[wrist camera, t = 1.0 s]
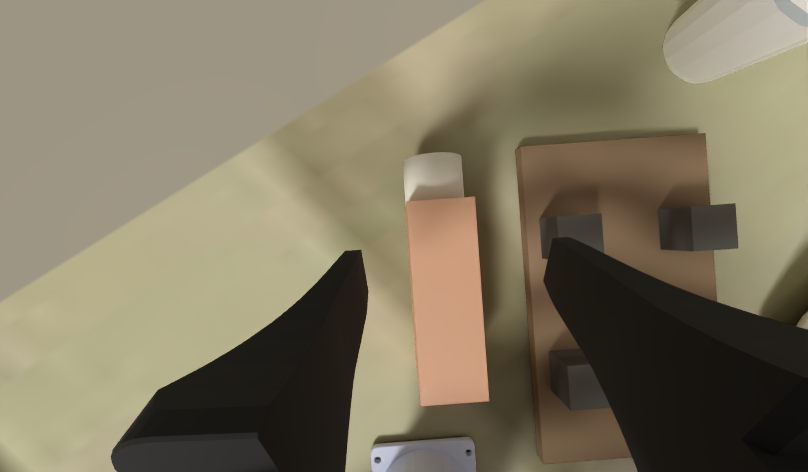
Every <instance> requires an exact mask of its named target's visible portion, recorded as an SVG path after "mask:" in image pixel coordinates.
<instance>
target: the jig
mask: <svg viewBox="0 0 808 472" xmlns="http://www.w3.org/2000/svg"><path fill="white" fill-rule="evenodd" d="M515 151H516V165H517V179H518V193H519V207H520V221H521V235H522V248H523V262H524V276H525V290H526V304H527V318H528V332H529V346H530V360H531V374H532V387H533V401H534V415H535V429H536V443H537V455H538V456H539V458H540V459H541V461H542V463H543V464H553V463H565V462H578V461H590V460H603V459H615V458H628V457H632V456H631V453H630V451H629V448H628V446H627V444H626V441H625V439H624V436H623V434H622V432H621V429H620V427H619V425H618V422H617V420H616V418H615V416H614V414H613V411H612V409H611V407H610V405H609V403H608V400H607V398H606V396H605V394H604V392H603V390H602V388H601V386H600V384H599V382H598V380H597V378H596V375H595V373H594V371H593V369H592V367H591V366H590V364H589V362H588V360H587V359H586V357H585V355H584V354H583V352H582V350H581V349H580V347H579V346H578V344H577V342H576V341H575V339H574V338H573V336H572V334H571V333H570V331H569V330H568V328H567V326H566V325H565V323H564V321H563V320H562V318H561V317H560V315H559V313H558V312H557V310H556V308H555V307H554V305H553V303H552V301H551V299H550V296H549V294H548V292H547V289H546V287H545V284H544V282H543V279H544V274H545V270H546V265H547V261H548V256H549V252H550V247H551V242H552V238H561V237H571V238H573V239H576V240H578V241H580V242H582V243H584V244H586V245H588V246H590V247H592V248H594V249H596V250H598V251H600V252H602V253H604V254H606V255H608V256H610V257H612V258H614V259H616V260H618V261H620V262H623V263H625V264H627V265H629V266H631V267H633V268H635V269H637V270H639V271H641V272H644V273H646V274H648V275H650V276H652V277H655V278H657V279H659V280H661V281H664V282H666V283H668V284H671V285H673V286H676V287H678V288H681V289H683V290H686V291H689V292H691V293H694V294H696V295H699V296H702V297H704V298H707V299H710V300H713V301H716V302H717V296H716V281H715V267H714V252H713V250H721V249H734V248H738V236H737V221H736V207H735V203H734V204H721V205H710V194H709V179H708V164H707V150H706V135H705V133H701V134H688V135H674V136H660V137H646V138H632V139H618V140H604V141H590V142H577V143H563V144H549V145H535V146H521V147H519V148H518V149H517V150H515Z"/></svg>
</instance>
